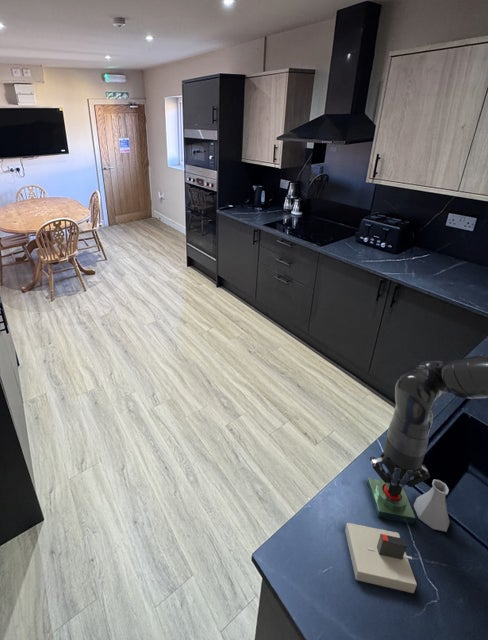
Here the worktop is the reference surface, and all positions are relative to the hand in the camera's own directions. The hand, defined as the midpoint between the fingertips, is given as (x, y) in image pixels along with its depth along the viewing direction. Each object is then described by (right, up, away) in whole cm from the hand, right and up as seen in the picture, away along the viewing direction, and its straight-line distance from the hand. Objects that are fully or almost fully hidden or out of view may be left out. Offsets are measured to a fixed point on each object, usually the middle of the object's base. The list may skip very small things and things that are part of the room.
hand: (392, 492), depth 80 cm
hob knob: (-7, -5, -11) cm, 14 cm away
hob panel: (-9, -8, -9) cm, 15 cm away
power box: (0, -4, +2) cm, 4 cm away
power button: (0, -2, +1) cm, 2 cm away
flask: (+9, -5, -1) cm, 10 cm away
